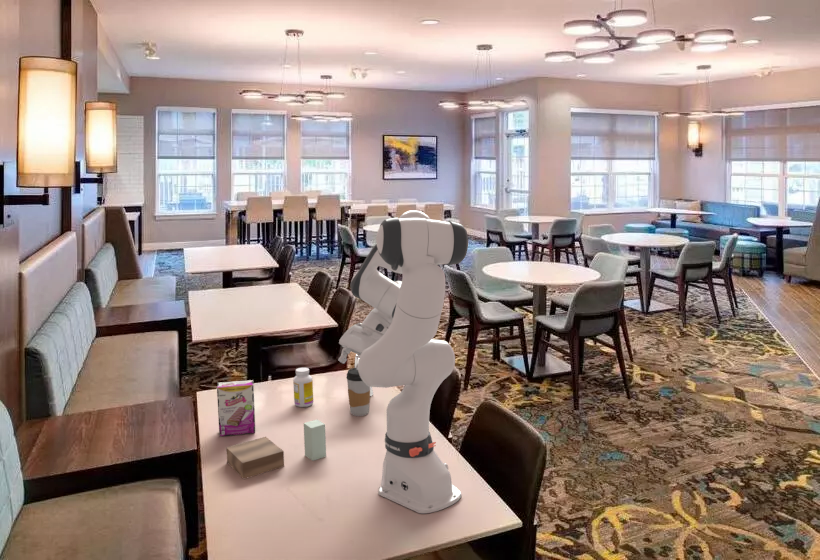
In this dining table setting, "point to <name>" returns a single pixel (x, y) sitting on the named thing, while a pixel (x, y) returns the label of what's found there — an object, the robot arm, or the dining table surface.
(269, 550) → the dining table surface
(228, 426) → the candy bar box
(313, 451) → the sage pillar
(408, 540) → the dining table surface
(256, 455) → the walnut block
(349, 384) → the coffee cup
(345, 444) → the dining table surface
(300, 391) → the supplement bottle
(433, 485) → the robot arm
